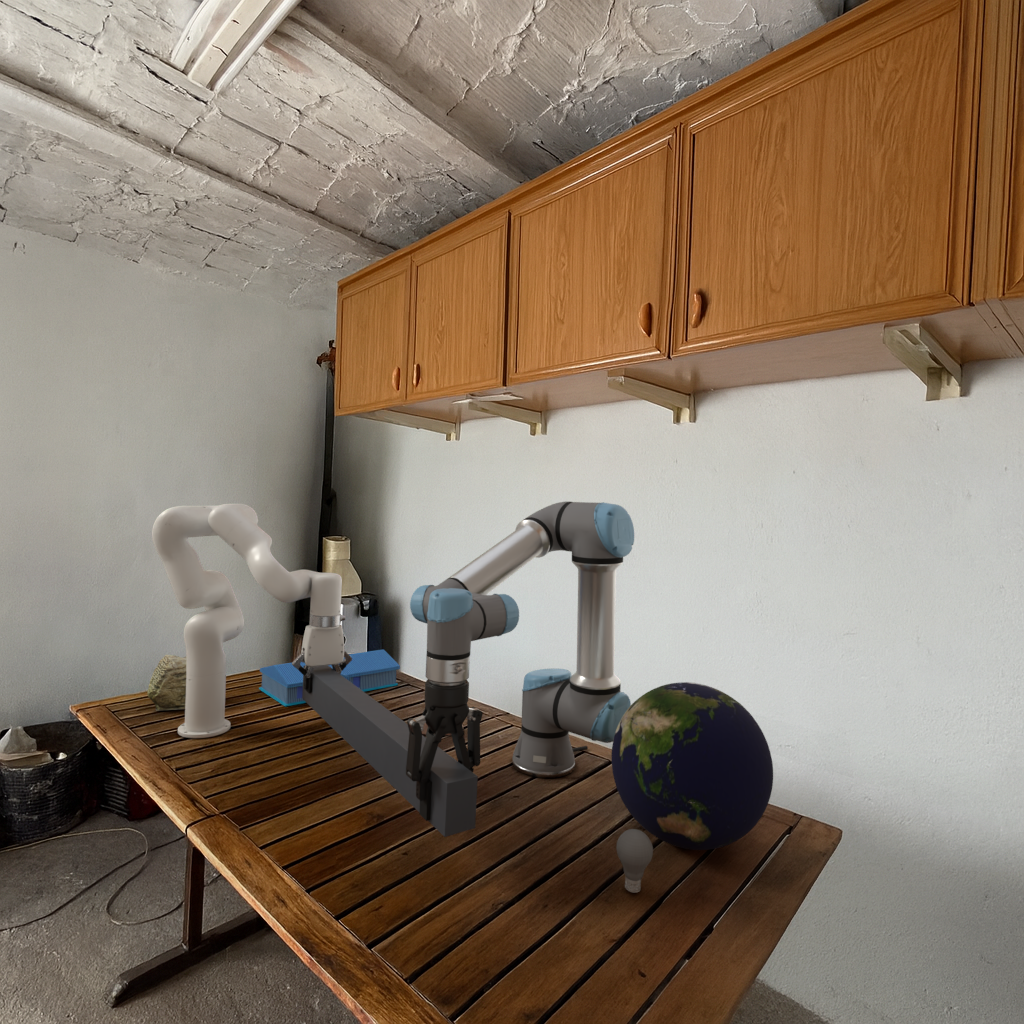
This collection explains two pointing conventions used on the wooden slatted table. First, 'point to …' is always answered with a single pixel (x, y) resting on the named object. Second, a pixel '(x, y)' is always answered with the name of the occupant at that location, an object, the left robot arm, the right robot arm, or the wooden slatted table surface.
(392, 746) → the beam
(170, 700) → the fossil
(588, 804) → the wooden slatted table surface
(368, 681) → the model building
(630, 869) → the light bulb
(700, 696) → the globe
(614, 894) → the wooden slatted table surface
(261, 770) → the wooden slatted table surface
